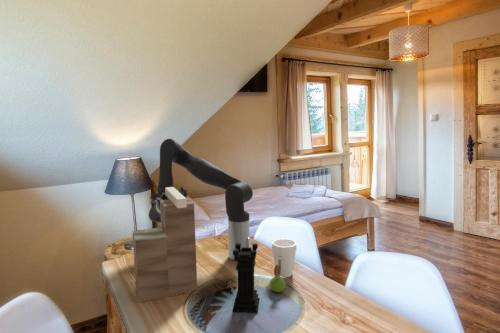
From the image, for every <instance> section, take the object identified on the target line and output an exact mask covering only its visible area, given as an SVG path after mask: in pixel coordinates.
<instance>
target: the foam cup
mask: <svg viewBox="0 0 500 333" xmlns="http://www.w3.org/2000/svg"><path fill="white" fill-rule="evenodd" d="M271 250H272V255H273V261H274V266H275V265H276V264H277V263H278V259H281V260H282V261H281V274H280V276H282V277H288V276H291V275H292V276H293V273H294V266H295V259H296V251H297V242H296V241H295V240H294V239H289V238H278V239H275V240H273V241H272V242H271ZM279 255H280V256H282V257H279Z"/></svg>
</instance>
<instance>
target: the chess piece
mask: <svg viewBox="0 0 500 333" xmlns="http://www.w3.org/2000/svg"><path fill="white" fill-rule="evenodd" d="M251 246H252V247H251ZM251 246H250V247H242V250H241V243H236V244H235V249H236V250H233V255H234V260H233V261H234V262H237V264H236V267H235V270H236V271H237V291H236V295H235V299H234V301H233V302H234V303H233V307H232V313H242V314H243V313H245V314H246V313H248V314H259V306H260V299H261V298H260V297H259V293H258V290H257V289H255V267H256V257H257V250H258V248H259V247H258V246H259V244H258V243H252V245H251Z"/></svg>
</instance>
